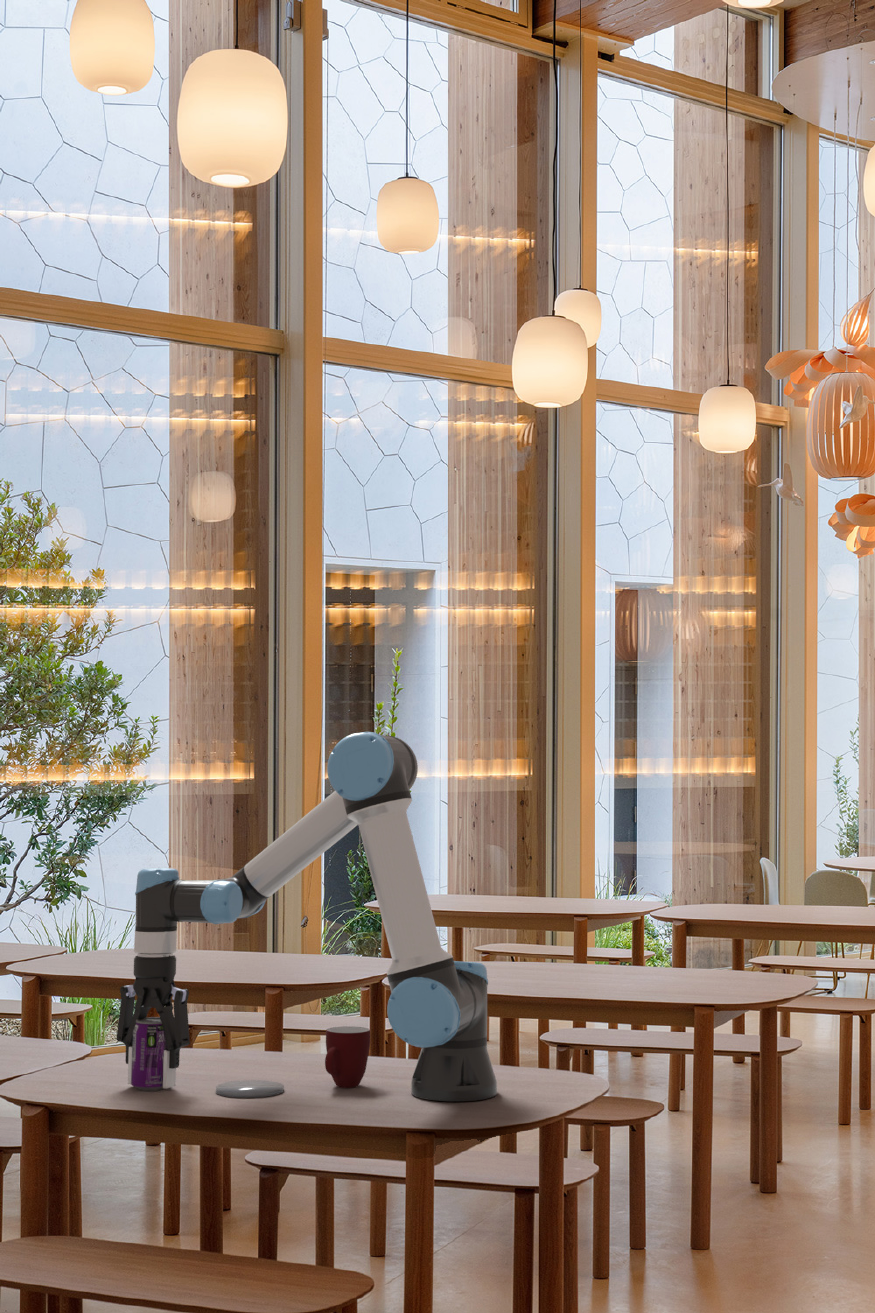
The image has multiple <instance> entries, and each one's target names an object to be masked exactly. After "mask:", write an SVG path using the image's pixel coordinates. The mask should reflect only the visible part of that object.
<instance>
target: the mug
mask: <svg viewBox="0 0 875 1313" xmlns="http://www.w3.org/2000/svg"><path fill="white" fill-rule="evenodd" d="M370 1046H371V1029H370V1028H368V1027H366V1026H365V1027H364V1026H355V1025H354V1026H347V1025H346V1026H344V1025H343V1026H333V1027H329V1028H328V1027H327V1029H326V1030H325V1048H326V1054H325V1059H324V1067H325V1068H324V1069H325V1070H326V1072H327V1073H328V1074H329V1075H331V1077H332V1080H333V1082H334V1085H335V1086H336V1087H338V1088H341V1089H354V1088H358V1087H359V1086H360V1084H361V1081H362V1079H363V1077H364V1075H365V1073H366V1069H367V1065H368V1059H369V1052H370V1048H371V1047H370Z"/></svg>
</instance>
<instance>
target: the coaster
mask: <svg viewBox="0 0 875 1313" xmlns="http://www.w3.org/2000/svg"><path fill="white" fill-rule="evenodd" d="M284 1091H285V1085H284V1084H283V1083H281V1082H278V1081H272V1080H263V1079H244V1080H233V1081H232V1080H231V1081H226V1082H221V1083H220V1084H217V1085H216V1086H215V1094H217V1095H219V1096H222V1097H227V1098H236V1099H256V1098H268V1097H273V1096H277V1095H281V1094H282V1093H284Z"/></svg>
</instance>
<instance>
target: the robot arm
mask: <svg viewBox="0 0 875 1313" xmlns="http://www.w3.org/2000/svg"><path fill="white" fill-rule="evenodd" d="M418 766H419V765H418V761H417V756H416V754H415V753H414V750H413V749H412V748H411V746H409V745H408V743H407V742H405V741H404V740H403V739H401V738H399V737H396V736H392V735H388V734H387V735H386V734H385V735H383V734H379V733H376V732H372V731H364V732H356V733H351V734H349V735H346V736H345V737H343V738H342V739H341V740H339V742H337V743H336V745H334V747H333V749H332V751H331V752H330V754H329V758H328V760H327V770H326V771H327V778H328V781H329V783H330V785H331V787H332V789H333V792H332V793H331V794H329V795H328V796H327V797H326V798H325V799H322V801H321V802H320V803H318V804H317V805H316V806H315V807H314V808H312V809H311V810H310V811H309V812H308V813H306V814H305V815H304V816H303V817H302V818H300V819H299V820H298V821H297V822H296V823H294V824H293V825H292V826H291V827H289V829H287V830H286V831H285V832H284V833H283V834H280V836H278V837H277V838H276V839H275V840H273V842H271V843H270V844H269V845H268V846H267V847H265V848H264V849H263V850H262V851H261V852H260V853H258V854H257V855H256V856H254V857H253V858H252V859H251V860H249V861H248V862H247V863H246V864H245V865H244V866H243V867H242V868H240V869H239V870H238V871H237V872H235V873H234V874H232V876H231V877H228V878H219V879H209V880H203V879H202V880H201V879H200V880H193V879H192V880H185V879H180V876H179V875H180V874H179V870H178V869H176V868H169V867H168V868H167V867H166V868H165V867H164V868H162V867H160V868H159V867H158V868H157V867H154V868H153V867H152V868H151V867H149V868H142V869H140V870H139V872H138V873H137V879H136V887H135V888H136V890H135V893H134V896H135V928H134V939H133V940H134V941H133V943H134V945H133V946H134V947H133V952H134V953H135V954H137V955H135V956H134V957H133V976H134V977H135V979H134V982H133V983H132V984H129V985H123V986H120V987H119V988H120V989H119V991H120V992H119V993H120V999H121V1000H120V1001H121V1002H120V1007H119V1008H120V1009H119V1017H118V1024H117V1032H116V1041H117V1042H118V1043H119V1042H121V1043H123V1044H124V1046H125V1059H124V1060H125V1064H127V1065H128V1066H127V1085H131V1078H132V1046H133V1029H134V1027H135V1025H136V1020H138V1019H140V1020H142V1019H144V1018H148V1017H147V1016H148V1013H149V1012H150V1010H151V1009H153V1008H154V1009H155V1011H156V1013H157V1014H158V1016H159V1017H160V1020H161V1022H162V1028H163V1031H164V1035H165V1039H166V1043H167V1047H168V1048H166V1050H164V1063H163V1088H165V1089H169V1088H173V1087H175V1086H176V1082H177V1080H176V1078H177V1077H176V1076H177V1069H178V1068H179V1067H180V1052H181V1049H182V1048H185V1047H187V1046H189V1045H190V1042H191V1041H190V1039H191V1038H190V1026H189V1025H190V1024H189V1013H188V1011H189V1009H188V1000H189V996H190V995H189V994H190V992H189V989H187V988H185V989H182V988H179V987H177V986H176V983H175V977H176V974H177V957H176V955H175V954H174V953H176V952H177V944H178V943H177V941H178V940H177V938H178V935H177V934H178V933H177V932H178V923H200V924H201V923H202V924H203V923H204V924H213V925H220V924H232V923H234V922H236V921H237V919H247V918H249V917H252V916H253V915H257V913H259V912H260V911H261V910H262V909H263V908H264V906H265V904H266V901H267V900H268V899H269V898H270V897H271V896H272V895H274V894H275V893H276V892H278V891H279V890H280V889H281V888H282V887H284V886H285V885H286V884H288V882H290V881H291V880H292V879H293V878H294V877H296V876H297V875H298V874H299V873H300V872H302V871H303V870H304V869H306V868H307V867H308V866H310V864H312V863H313V862H314V861H316V860H317V859H318V858H319V857H320V856H322V855H323V854H324V853H325V852H326V851H327V850H329V849H330V848H331V847H332V846H334V845H335V844H336V843H338V842H339V841H340V840H341V839H343V838H344V837H345V836H346V835H348V833H350V832H351V831H352V830H353V829H354V828H356V827H357V826H358V828H359V832H360V837H361V840H362V841H361V842H362V846H363V849H364V853H365V857H366V860H367V864H368V869H369V872H370V877H371V881H372V884H373V889H374V893H375V896H376V900H377V905H378V908H379V909H378V910H379V911H380V917H381V919H382V924H383V928H384V931H385V936H386V939H387V943H388V944H387V945H388V948H389V952H390V956H391V961H392V962H391V964H390V966H389V968H388V969H387V972H386V976H387V981H388V985H389V989H390V995H389V999H388V1001H387V1008H386V1009H387V1010H386V1011H387V1012H386V1013H387V1017H388V1018H387V1019H388V1022H389V1024H390V1027H391V1029H392V1031H393V1032H394V1033H395V1034H396V1036H397V1037H398V1038H400V1039H401V1040H402V1041H404V1042H405V1043H406V1044H408V1045H411V1046H412V1047H413V1046H414V1047H416V1048H421V1050H420V1053H419V1055H418V1058H417V1063H416V1065H415V1068H414V1072H413V1075H412V1078H411V1082H410V1083H411V1084H410V1085H411V1088H410V1091H411V1095H412V1096H414V1097H416V1098H419V1099H420V1098H421V1099H425V1100H429V1101H430V1100H431V1101H437V1102H438V1101H440V1102H472V1101H473V1102H474V1101H482V1100H486V1099H490V1098H493V1097H495V1096H496V1095H497V1093H498V1091H497V1090H498V1084H497V1083H498V1082H497V1077H496V1075H495V1071H494V1068H493V1065H492V1061H491V1058H490V1055H489V1051H488V985H489V979H488V972H487V971H488V970H487V967H486V966H485V964H483V963H481V962H477V961H475V962H474V961H461V960H460V961H458V960H457V961H456V960H454V956H453V955H452V954H451V953H449V952H448V951H446V950H444V949H443V948H442V945H441V942H440V938H439V934H438V930H437V926H436V923H435V918H434V915H433V911H432V907H431V903H430V900H429V895H428V892H427V887H426V884H425V883H426V882H425V880H424V876H423V871H422V869H421V864H420V860H419V857H418V854H417V849H416V845H415V841H414V837H413V834H412V829H411V826H410V822H409V818H408V814H407V810H408V809H409V806H410V805H411V804H412V802H413V799H412V794H411V788H413V786H414V784H415V782H416V779H417V776H418V770H419V769H418ZM136 997H137V998H136ZM135 1000H136V1001H135ZM172 1000H173V1002H172Z"/></svg>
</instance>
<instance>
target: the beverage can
mask: <svg viewBox="0 0 875 1313" xmlns="http://www.w3.org/2000/svg"><path fill="white" fill-rule="evenodd" d="M166 1048H168V1047H167V1043H166V1039H165V1035H164V1031H163V1028H162V1022H161V1020H160V1016H159V1017H157V1016H155V1017H154V1016H151V1017H146V1018H144V1019H142V1020H140V1019H138V1020H136V1025H135V1027H134V1029H133V1046H132V1078H131V1084H130V1085H131V1086H132V1087H134V1088H136V1089H137V1090H138V1091H144V1092H145V1091H147V1092H148V1091H149V1092H153V1091H154V1092H155V1091H161V1090H164V1089H166V1088H163V1063H164V1050H166Z"/></svg>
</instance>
